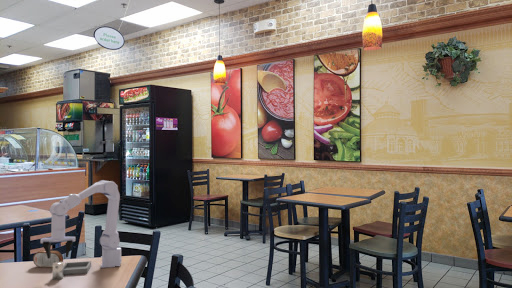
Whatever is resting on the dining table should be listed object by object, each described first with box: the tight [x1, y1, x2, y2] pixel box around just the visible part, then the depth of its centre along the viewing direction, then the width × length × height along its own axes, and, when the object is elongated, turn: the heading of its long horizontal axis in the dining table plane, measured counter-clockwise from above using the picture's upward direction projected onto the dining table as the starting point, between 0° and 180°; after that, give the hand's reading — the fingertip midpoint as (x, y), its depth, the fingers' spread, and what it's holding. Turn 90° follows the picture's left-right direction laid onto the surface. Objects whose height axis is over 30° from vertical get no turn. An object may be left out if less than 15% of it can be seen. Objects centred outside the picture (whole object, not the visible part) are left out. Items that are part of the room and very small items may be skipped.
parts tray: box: [63, 260, 92, 276], centre depth 191 cm, size 12×12×2 cm
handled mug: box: [52, 261, 64, 281], centre depth 179 cm, size 4×6×7 cm
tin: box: [32, 249, 64, 269], centre depth 196 cm, size 15×3×8 cm, turn 84°
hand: (58, 257), depth 180 cm, fingers open, 7 cm apart
